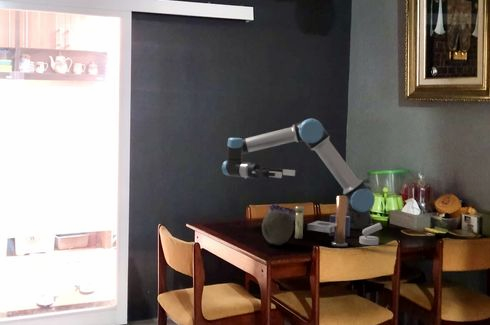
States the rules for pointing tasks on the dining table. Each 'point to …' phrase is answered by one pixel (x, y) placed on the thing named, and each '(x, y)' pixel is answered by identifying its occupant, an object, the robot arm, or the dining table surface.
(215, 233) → the dining table surface
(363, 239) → the wall hook
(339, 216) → the rosette bracket
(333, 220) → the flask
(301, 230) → the glass vial
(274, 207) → the geode
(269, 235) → the cantaloupe
